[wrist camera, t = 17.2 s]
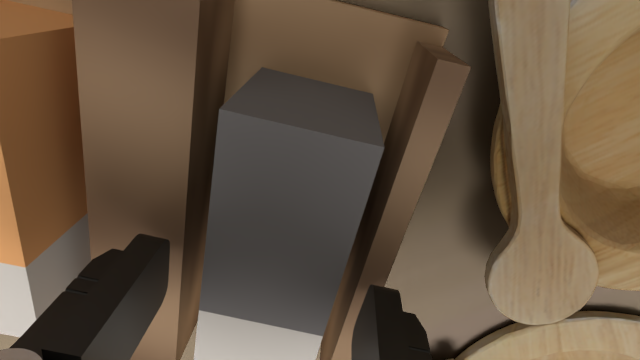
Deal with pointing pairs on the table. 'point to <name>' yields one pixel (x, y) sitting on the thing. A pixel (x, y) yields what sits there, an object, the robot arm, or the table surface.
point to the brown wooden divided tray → (202, 120)
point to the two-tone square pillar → (283, 214)
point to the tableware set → (565, 178)
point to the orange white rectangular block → (39, 164)
